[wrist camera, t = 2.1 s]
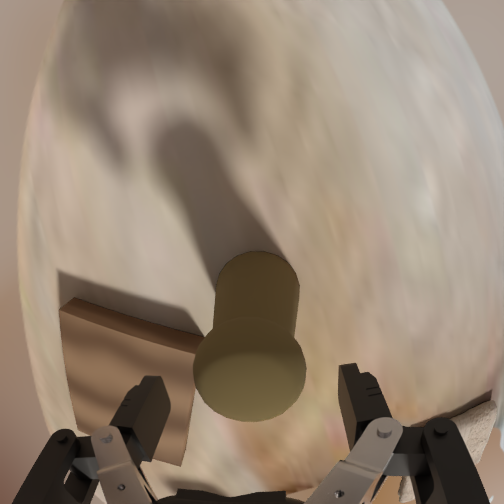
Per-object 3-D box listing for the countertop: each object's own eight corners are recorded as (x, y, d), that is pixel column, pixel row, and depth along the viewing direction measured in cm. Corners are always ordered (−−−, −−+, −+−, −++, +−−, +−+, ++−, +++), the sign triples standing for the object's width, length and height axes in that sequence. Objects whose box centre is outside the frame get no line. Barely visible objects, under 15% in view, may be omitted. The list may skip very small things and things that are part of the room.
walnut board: (74, 297, 24) (58, 309, 22) (204, 337, 24) (198, 355, 22) (86, 416, 29) (78, 430, 26) (185, 449, 29) (180, 466, 26)
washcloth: (395, 494, 32) (399, 509, 29) (403, 429, 27) (411, 449, 24) (464, 467, 30) (470, 481, 27) (490, 392, 26) (502, 408, 23)
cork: (237, 236, 22) (206, 310, 11) (315, 274, 22) (348, 370, 11) (203, 306, 23) (159, 409, 13) (275, 339, 24) (275, 452, 13)
